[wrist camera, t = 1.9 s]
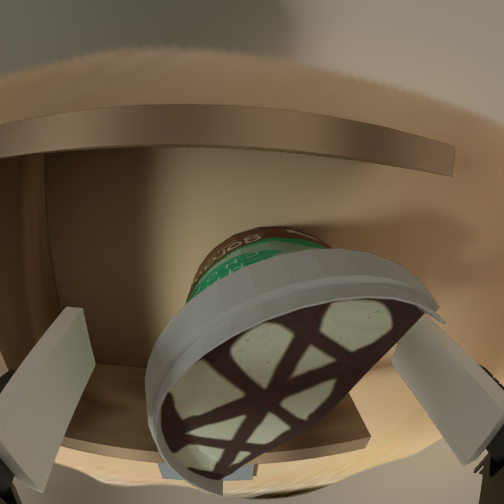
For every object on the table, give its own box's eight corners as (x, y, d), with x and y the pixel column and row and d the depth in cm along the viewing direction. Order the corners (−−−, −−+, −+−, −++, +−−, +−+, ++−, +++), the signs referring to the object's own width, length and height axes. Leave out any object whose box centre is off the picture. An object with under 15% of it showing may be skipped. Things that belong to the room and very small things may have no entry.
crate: (64, 370, 18) (30, 437, 12) (29, 136, 13) (-51, 139, 7) (330, 377, 21) (364, 448, 14) (372, 142, 16) (454, 146, 9)
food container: (264, 154, 15) (336, 163, 6) (343, 227, 17) (456, 309, 8) (131, 318, 18) (82, 448, 8) (210, 367, 19) (214, 500, 10)
